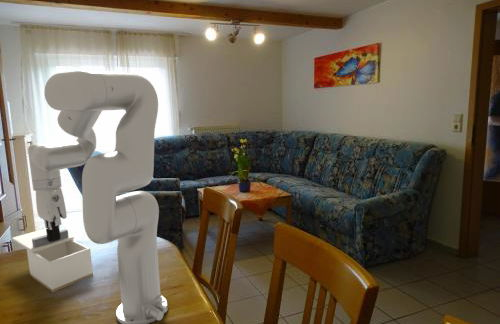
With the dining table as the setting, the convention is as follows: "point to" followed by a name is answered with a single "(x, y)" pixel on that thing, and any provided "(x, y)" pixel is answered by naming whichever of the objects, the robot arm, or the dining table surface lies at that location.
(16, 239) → the carton lid
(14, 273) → the dining table surface
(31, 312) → the dining table surface
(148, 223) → the robot arm
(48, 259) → the carton
